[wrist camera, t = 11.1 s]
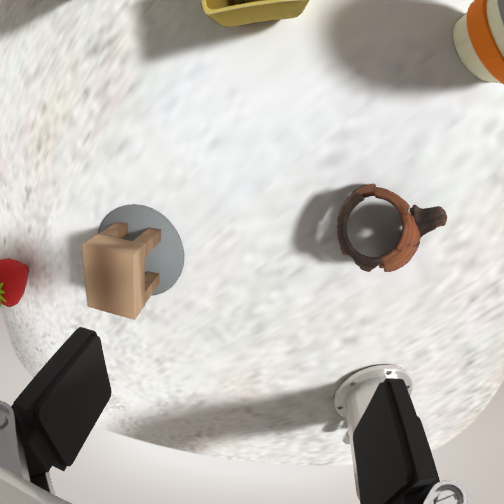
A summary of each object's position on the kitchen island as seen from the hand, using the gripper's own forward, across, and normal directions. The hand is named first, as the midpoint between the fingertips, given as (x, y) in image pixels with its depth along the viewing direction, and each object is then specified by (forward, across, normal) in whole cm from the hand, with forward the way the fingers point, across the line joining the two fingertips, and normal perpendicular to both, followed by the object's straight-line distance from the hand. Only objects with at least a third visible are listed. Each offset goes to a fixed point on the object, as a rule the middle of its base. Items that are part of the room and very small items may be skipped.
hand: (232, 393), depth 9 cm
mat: (+27, +15, +8) cm, 32 cm away
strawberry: (+27, +37, +14) cm, 47 cm away
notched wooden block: (+26, +15, +8) cm, 31 cm away
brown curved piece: (+27, -13, 0) cm, 30 cm away
